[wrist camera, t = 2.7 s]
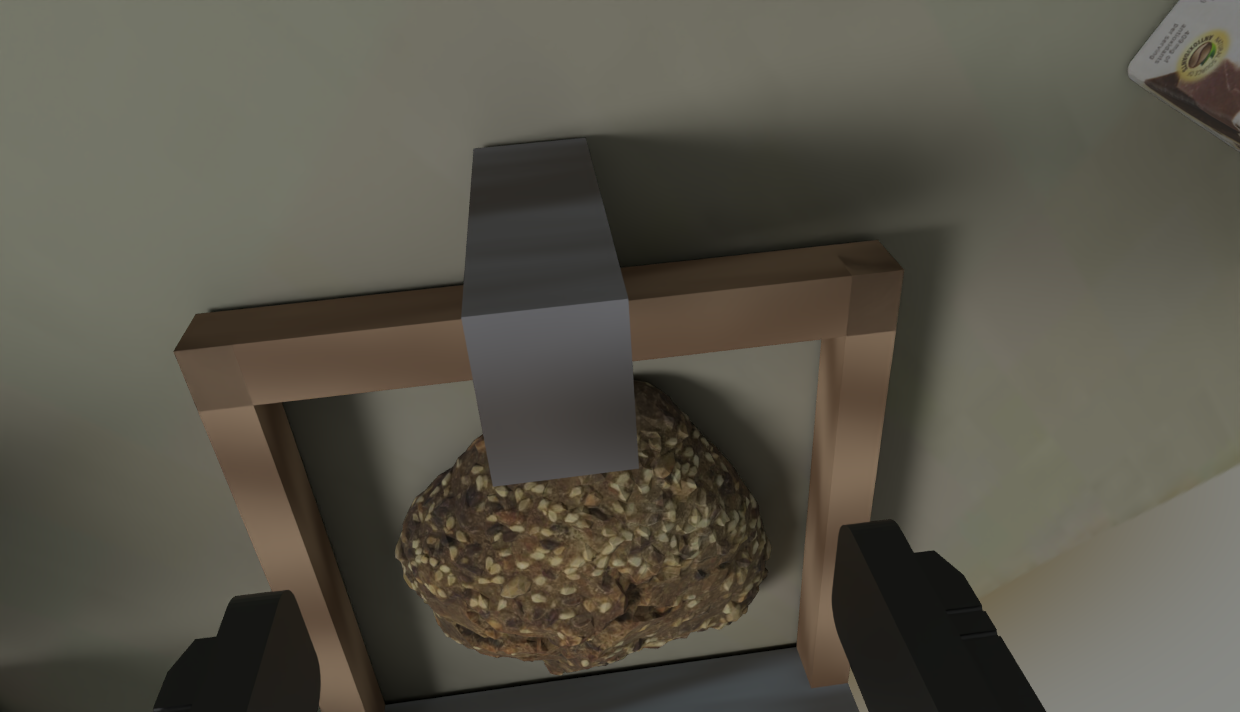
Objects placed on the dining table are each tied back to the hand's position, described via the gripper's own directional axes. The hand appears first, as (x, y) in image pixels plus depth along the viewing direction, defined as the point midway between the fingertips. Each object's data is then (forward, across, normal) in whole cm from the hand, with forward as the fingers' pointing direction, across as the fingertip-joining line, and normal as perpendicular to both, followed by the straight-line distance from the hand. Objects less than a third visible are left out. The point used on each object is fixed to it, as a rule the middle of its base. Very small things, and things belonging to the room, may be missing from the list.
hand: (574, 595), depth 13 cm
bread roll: (+14, 0, +12) cm, 19 cm away
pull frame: (+14, 0, +10) cm, 17 cm away
